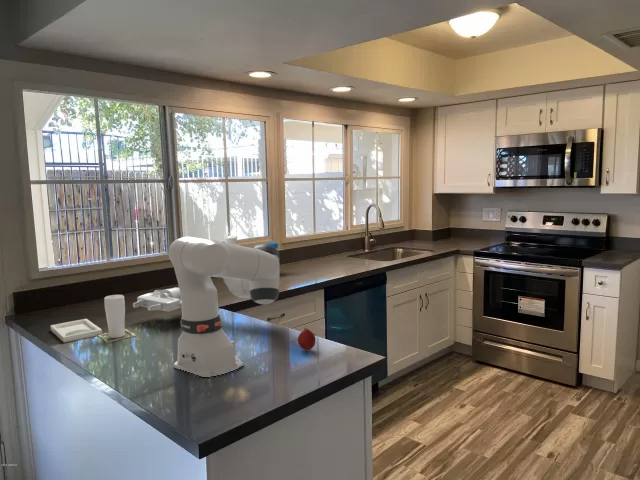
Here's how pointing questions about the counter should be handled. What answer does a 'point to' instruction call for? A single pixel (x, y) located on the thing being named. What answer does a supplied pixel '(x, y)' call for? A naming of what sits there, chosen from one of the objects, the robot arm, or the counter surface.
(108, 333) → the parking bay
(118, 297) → the drinking glass
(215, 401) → the counter surface
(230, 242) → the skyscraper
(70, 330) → the tray
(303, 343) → the onion
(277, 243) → the beverage bottle
